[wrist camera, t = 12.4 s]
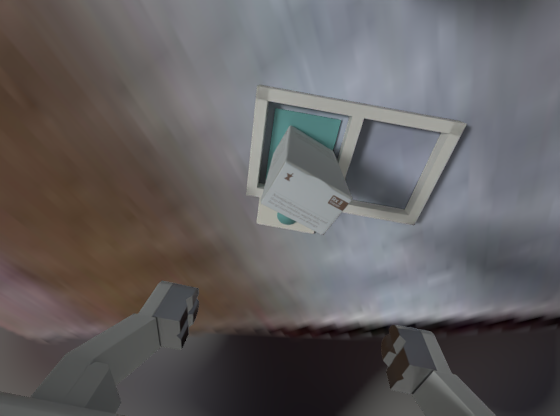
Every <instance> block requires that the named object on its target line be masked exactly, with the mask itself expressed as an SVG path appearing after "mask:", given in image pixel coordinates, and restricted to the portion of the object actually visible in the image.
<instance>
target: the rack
mask: <svg viewBox="0 0 560 416" xmlns="http://www.w3.org/2000/svg"><path fill="white" fill-rule="evenodd" d="M269 101H271V102H277V103H282V104H288V105H293V106H299V107H304V108H310V109H315V110H321V111H326V112H332V113H337V114H343V115H348V116H350V117H349V120H348V124H347V127H346V131H345V134H344V138H343V141H342V145H341V148H340V152H339V155H338V159H337V162H338V164H339V166H340V169H341V171H342V174H343V176H344V179H345V178H346V175H347V171H348V168H349V165H350V162H351V159H352V155H353V152H354V149H355V146H356V143H357V139H358V136H359V133H360V130H361V127H362V124H363V120H364V118H365V119H370V120H376V121H381V122H387V123H392V124H398V125H403V126H409V127H414V128H420V129H425V130H431V131H436V132H441V134H440V136H439V138H438V140H437V143H436V145H435V147H434V149H433V151H432V153H431V155H430V157H429V159H428V162H427V164H426V166H425V168H424V170H423V172H422V174H421V176H420V178H419V180H418V183H417V185H416V187H415V189H414V191H413V193H412V195H411V197H410V199H409V201H408V204H407V206H406V208H405V209H400V208H395V207H389V206H384V205H378V204H372V203H367V202H361V201H356V200H352V201H351V202H350V203H349V204H348V206H347V207H346V208H345V209H344V210H343V212H344V213H349V214H355V215H360V216H366V217H371V218H377V219H382V220H388V221H393V222H399V223H404V224H410V225H415V223H416V221H417V219H418V217H419V215H420V213H421V212H422V210H423V208H424V206H425V204H426V202H427V200H428V198H429V196H430V194H431V192H432V190H433V188H434V186H435V184H436V183H437V181H438V179H439V177H440V175H441V173H442V171H443V169H444V167H445V165H446V163H447V161H448V159H449V157H450V156H451V154H452V152H453V150H454V148H455V146H456V144H457V142H458V140H459V138H460V136H461V134H462V132H463V130H464V128H465V127H466V125H467V124H466V123H463V122H461V121H457V120H451V119H446V118H440V117H435V116H429V115H424V114H418V113H413V112H407V111H402V110H396V109H391V108H385V107H380V106H374V105H369V104H363V103H358V102H352V101H347V100H341V99H336V98H330V97H325V96H319V95H314V94H308V93H303V92H297V91H292V90H286V89H281V88H275V87H270V86H264V85H258V86H257V92H256V102H255V112H254V122H253V132H252V142H251V152H250V162H249V172H248V182H247V192H246V195H250V196H255V197H260V200H259V208H258V215H257V224H262V225H268V226H273V227H279V228H284V229H290V230H295V231H301V232H306V233H312V234H314V231H313V230H311V229H310V228H308V227H306V226H304V225H302V224H300V223H298V222H296V221H294V220H292V219H290V218H288V217H286V216H284V215H282V214H280V213H278V212H276V211H274V210H272V209H270V208H268V207H266V206H264V205H263V204H261V197H262V194H263V191H264V186H265V184H262V183H259V177H260V169H261V161H262V153H263V145H264V137H265V129H266V121H267V113H268V105H269ZM340 123H341V120H338V119H333V118H327V117H322V116H316V115H311V114H305V113H300V112H294V111H289V110H283V109H278V108H275V115H274V122H273V129H272V136H271V144H270V151H269V158H268V165H267V172H266V179H267V175H268V172H269V168H270V165H271V161H272V157H273V153H274V152H275V150H276V148H277V146H278V144H279V143H280V141H281V139H282V138H283V136H284V134H285V133H286V131H287V129H288V127H289V126H290V125H291V126H293V127H295V128H296V129H298V130H300V131H301V132H303V133H304V134H306V135H308V136H309V137H311V138H313V139H314V140H316V141H317V142H319V143H321V144H322V145H324V146H326V147H327V148H329V149H331V150H332V151H333V149H334V145H335V141H336V137H337V134H338V130H339V126H340Z"/></svg>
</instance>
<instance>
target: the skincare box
mask: <svg viewBox="0 0 560 416" xmlns="http://www.w3.org/2000/svg"><path fill="white" fill-rule="evenodd" d="M352 199H353V198H352V196H351V193H350V191H349V188H348V186H347V184H346V181H345V179H344V176H343V174H342V171H341V169H340V166H339V164H338V162H337V159H336V157H335V154H334V152H333V151H332V150H331V149H329V148H327V147H326V146H324V145H322V144H321V143H319V142H317V141H316V140H314V139H313V138H311V137H309V136H308V135H306V134H304V133H303V132H301V131H300V130H298V129H296V128H295V127H293V126H291V125H290V126H289V127H288V129H287V131H286V133H285V134H284V136H283V138H282V139H281V141H280V143H279V144H278V146H277V148H276V150H275V152H274V153H273V157H272V161H271V165H270V168H269V172H268V175H267V179H266V183H265V186H264V191H263V194H262V197H261V204H263V205H264V206H266V207H268V208H270V209H272V210H274V211H276V212H278V213H280V214H282V215H284V216H286V217H288V218H290V219H292V220H294V221H296V222H298V223H300V224H302V225H304V226H306V227H308V228H310V229H311V230H313V231H315V232H317V233H319V234H321V235H324V234H325V232H326V231H327V230H328V229H329V227H330V226H331V225H332V224H333V222H334V221H335V220H336V219H337V218H338V216H339V215H340V214H341V213H342V212H343V210H344V209H345V208H346V207H347V206H348V204H349V203H350V202H351V201H352Z"/></svg>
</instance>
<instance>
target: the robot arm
mask: <svg viewBox="0 0 560 416" xmlns="http://www.w3.org/2000/svg"><path fill="white" fill-rule="evenodd" d="M198 294H199V289H198V288H194V287H190V286H185V285H181V284H176V283H171V282H166V281H161V282H160V283H159V284H158V285H157V287H156V288H155V290H154V291H153V293H152V294H151V296H150V297H149V299H148V300H147V302H146V303H145V305H144V306H143V307H142V309H141V310H140V312H139V313H138V314H133V315H131V316H129V317H128V318H126V319H124V320H123V321H121V322H119V323H118V324H116V325H114V326H112V327H111V328H109V329H107V330H106V331H104V332H102V333H101V334H99V335H97V336H96V337H94V338H92V339H91V340H89V341H87V342H86V343H84V344H82V345H80V346H79V347H77V348H76V349H74V350H72V351H70V352H69V353H67V354H66V355H65V356H64V357H63V358H62V359H61V361H60V362H59V363H58V364H57V365H56V366H55V368H54V369H53V370H52V371H51V373H50V374H49V375H48V376H47V377H46V379H45V380H44V381H43V382H42V384H41V385H40V386H39V387H38V388H37V389H36V391H35V392H34V393H33V394H32V395H31V397H27V396H21V395H16V394H11V393H6V392H0V416H125V415H119V414H116V412H117V410H118V408H119V406H120V404H121V399H120V396H119V393H118V391H117V388H116V385H117V384H119V383H120V382H121V381H122V380H123V379H125V378H126V377H127V376H128V375H129V374H130V373H132V372H133V371H134V370H135V369H136V368H137V367H139V366H140V365H141V364H142V363H143V362H144V361H146V360H147V359H148V358H149V357H150V356H151V355H152V354H154V353H155V352H156V351H157V350H158V349H160V347H166V348H172V349H179V350H182V348H183V346H184V344H185V341H186V339H187V337H188V335H189V327H190V326H191V325H193V323H194V321H195V319H196V316H197V312H198V307H199V301H198V299H197V297H198ZM389 332H390V334H389V335H387V336H385V337H384V339H383V341H382V346H381V350H382V351H381V352H382V357H383V361H384V362H385V363H386V364H387V366H388V368H387V371H386V374H387V378H388V382H389V386H390V389H391V390H394V391H398V392H402V393H407V394H412V397H413V398H414V400H415V401H416V403H417V404H418V405H419V407H420V408H421V410H422V411H423V413H424V414H425V416H496V415H495V414H494V413H493V412H492V411H491V410H490V409H489V408H488V407H487V406H486V405H485V404H484V403H483V402H482V401H481V400H480V399H479V398H478V397H477V396H476V395H475V394H474V393H473V392H472V391H471V390H470V389H469V388H468V387H467V386H466V385H465V384H464V383H463V382H462V381H461V380H460V379H459V378H458V377H457V376H456V375H455V374H452V373H451V371H450V369H449V367H448V365H447V362H446V360H445V358H444V356H443V354H442V351H441V349H440V347H439V345H438V343H437V340H436V338H435V336H434V334H433V333H432V332H430V331H425V330H419V329H416V328H410V327H404V326H398V325H392V326H391V327H390V329H389Z"/></svg>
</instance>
